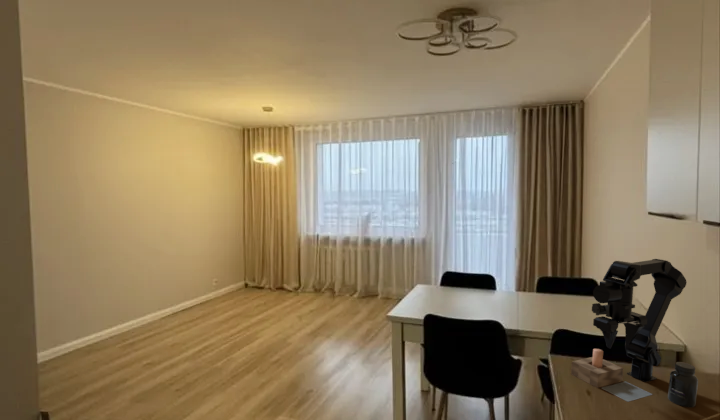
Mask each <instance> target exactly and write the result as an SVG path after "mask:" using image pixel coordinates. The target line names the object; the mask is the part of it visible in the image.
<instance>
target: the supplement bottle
mask: <svg viewBox="0 0 720 420" xmlns="http://www.w3.org/2000/svg"><path fill="white" fill-rule="evenodd" d="M695 374H696V367H695V365H692V364H690V363H687V362H683V361H677V362H675V365H674V370H671V372H670V373H669V382H668V390H667V399H668V400H669V401H670V402H671V403H672V404H675V405H677V406H681V407H684V408H694V407H696V403H697V393H698V385H699V379H698V377H697V376H696V375H695Z"/></svg>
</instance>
